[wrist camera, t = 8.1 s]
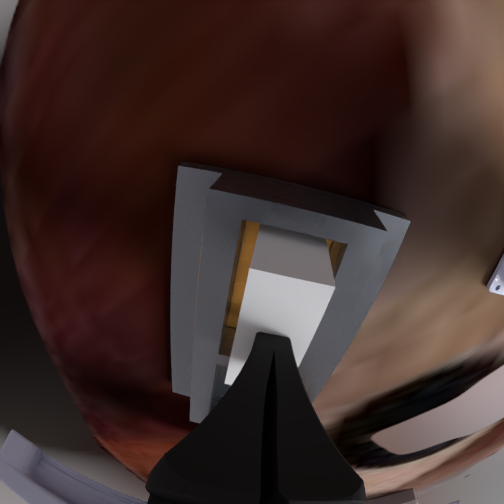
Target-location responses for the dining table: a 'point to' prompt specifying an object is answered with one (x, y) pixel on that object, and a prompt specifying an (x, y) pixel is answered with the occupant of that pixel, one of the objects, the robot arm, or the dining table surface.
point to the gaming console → (396, 498)
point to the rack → (238, 263)
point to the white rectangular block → (283, 292)
